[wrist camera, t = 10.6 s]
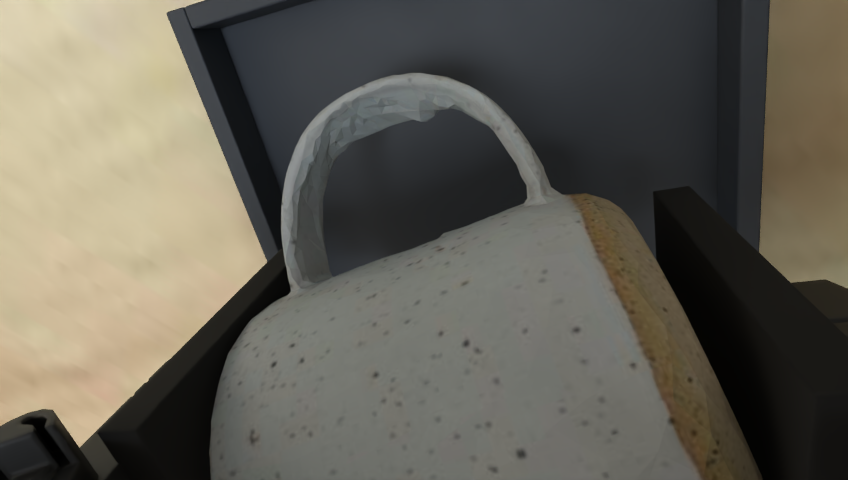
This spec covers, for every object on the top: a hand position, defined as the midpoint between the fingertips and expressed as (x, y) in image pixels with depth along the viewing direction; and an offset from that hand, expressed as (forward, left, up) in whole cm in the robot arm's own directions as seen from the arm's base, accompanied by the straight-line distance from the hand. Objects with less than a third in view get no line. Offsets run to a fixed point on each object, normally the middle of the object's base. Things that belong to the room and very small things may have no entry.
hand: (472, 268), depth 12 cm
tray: (0, 0, -4) cm, 4 cm away
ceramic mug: (0, 0, -1) cm, 1 cm away
